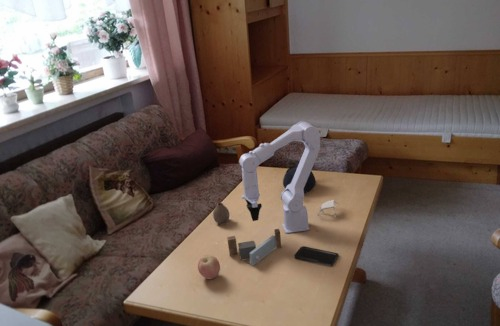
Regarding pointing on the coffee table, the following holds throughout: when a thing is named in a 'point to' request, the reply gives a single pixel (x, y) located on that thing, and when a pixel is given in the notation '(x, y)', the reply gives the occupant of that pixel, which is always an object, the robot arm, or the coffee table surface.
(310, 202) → the coffee table surface
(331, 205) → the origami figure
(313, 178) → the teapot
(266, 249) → the door
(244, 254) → the block
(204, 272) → the apple
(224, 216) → the vase
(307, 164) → the robot arm
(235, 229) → the coffee table surface
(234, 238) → the door frame
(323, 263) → the phone
